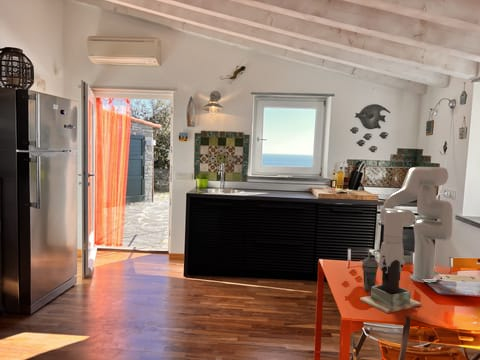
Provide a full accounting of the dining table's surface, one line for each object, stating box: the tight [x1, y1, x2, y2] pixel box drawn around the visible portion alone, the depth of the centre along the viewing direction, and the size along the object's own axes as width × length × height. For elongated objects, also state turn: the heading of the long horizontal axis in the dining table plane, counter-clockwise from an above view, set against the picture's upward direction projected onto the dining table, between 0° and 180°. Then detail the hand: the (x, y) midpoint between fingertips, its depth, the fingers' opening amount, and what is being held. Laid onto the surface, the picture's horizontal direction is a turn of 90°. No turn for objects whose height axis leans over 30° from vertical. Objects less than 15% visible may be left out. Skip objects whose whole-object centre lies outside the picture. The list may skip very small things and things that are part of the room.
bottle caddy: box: [359, 284, 422, 314], centre depth 159 cm, size 20×15×6 cm
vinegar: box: [381, 255, 401, 295], centre depth 158 cm, size 7×7×20 cm
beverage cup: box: [361, 247, 379, 292], centre depth 175 cm, size 7×7×20 cm
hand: (391, 280), depth 158 cm, fingers closed on vinegar, 5 cm apart
